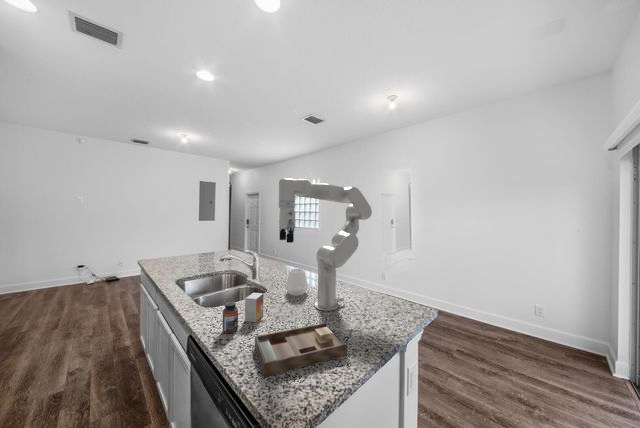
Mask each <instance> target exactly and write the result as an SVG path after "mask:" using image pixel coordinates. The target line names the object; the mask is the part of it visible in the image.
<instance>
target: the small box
mask: <svg viewBox="0 0 640 428" xmlns="http://www.w3.org/2000/svg"><path fill="white" fill-rule="evenodd" d="M263 316H264V293H260V292H252V293H251V294H250V295H248V296H246V297H245V298H244V322H249V323H257V322H258V321H259V320H260V319H261V318H262V317H263Z"/></svg>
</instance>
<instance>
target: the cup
mask: <svg viewBox="0 0 640 428" xmlns="http://www.w3.org/2000/svg"><path fill="white" fill-rule="evenodd" d="M287 275H288V276H287V279H286V283H285V289H286V291H287V293H288V294H289V295H290V296H294V297H298V296H303V295H305V293H306V291H307V289H308V288H309V286H308V281H307V277H306V272H305V269H302V268H291V269H290V270H289V271H288V274H287Z"/></svg>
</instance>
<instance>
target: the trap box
mask: <svg viewBox="0 0 640 428" xmlns="http://www.w3.org/2000/svg"><path fill="white" fill-rule="evenodd" d="M327 325H328V324H327V322H323V323H316V324H311V325H306V326H302V327H297V328H290V329H285V330H282V331H274V332H271V333H264V334H261V335H260V334H259V335H256V336H254V348H255V353H256V355H257V359H258V361H259V364H260V367H261V371H262V374H263V377H264V378H267V377H270V376H273V375H278V374H281V372H282V373H286V372H289V371H292V370H291V369H293V370H296V369H295V368H297V369H300V368H299V367H301V368H305V367H308V366H312V365H315V363H316V364H320V363H323V361H324V362H327V361H331V360H334V359H339V358H343V357H346V356H348V343H347V342H345V343H342V342H341V340H340V339H339V338H338V337H337V336H336V335H335V334H334V333H333V341H330V342H326V343H321V344H320V343H319V342H318V340H317V339H316V338H315V329H318V328H323V327H328V326H327ZM319 362H320V363H319ZM304 366H305V367H304ZM288 370H289V371H288ZM269 375H270V376H269Z"/></svg>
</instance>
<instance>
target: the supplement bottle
mask: <svg viewBox="0 0 640 428" xmlns="http://www.w3.org/2000/svg"><path fill="white" fill-rule="evenodd" d="M224 304H225V305H224V306H225V307H224V308H223V310H222V332H223V333H224V334H233V333H235V332H237V331H238V330H239V309H238V307H237V305H236V302H235V301H228V302H226V303H224Z"/></svg>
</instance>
